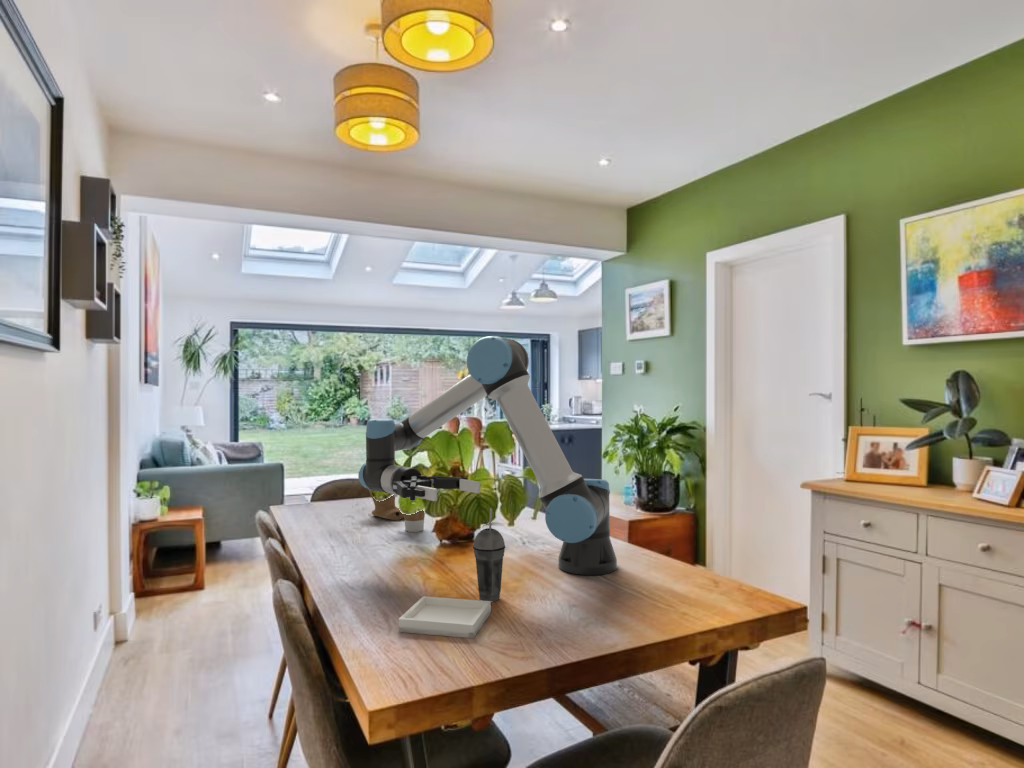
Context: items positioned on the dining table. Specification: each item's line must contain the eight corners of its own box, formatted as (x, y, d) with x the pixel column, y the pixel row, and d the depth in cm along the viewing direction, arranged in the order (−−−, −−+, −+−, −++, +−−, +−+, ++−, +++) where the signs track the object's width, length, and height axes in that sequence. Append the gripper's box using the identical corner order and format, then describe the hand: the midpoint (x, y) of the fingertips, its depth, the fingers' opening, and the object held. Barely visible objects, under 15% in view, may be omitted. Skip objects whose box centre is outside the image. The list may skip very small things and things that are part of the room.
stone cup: (362, 516, 225) (362, 475, 225) (392, 512, 232) (392, 472, 232) (380, 523, 213) (380, 480, 213) (411, 519, 220) (411, 477, 220)
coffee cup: (422, 533, 198) (421, 487, 198) (397, 532, 200) (397, 486, 200) (430, 527, 206) (430, 482, 206) (407, 526, 208) (406, 482, 208)
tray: (490, 613, 128) (490, 601, 128) (473, 638, 116) (473, 625, 116) (423, 607, 132) (422, 596, 132) (398, 631, 119) (398, 618, 119)
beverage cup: (467, 601, 135) (466, 510, 135) (481, 591, 142) (480, 504, 142) (498, 606, 132) (497, 513, 132) (510, 595, 139) (510, 506, 139)
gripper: (439, 489, 168) (495, 499, 153) (360, 502, 149) (415, 515, 135) (439, 462, 168) (495, 469, 153) (361, 471, 149) (415, 481, 135)
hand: (458, 491), depth 144 cm, fingers open, 13 cm apart
